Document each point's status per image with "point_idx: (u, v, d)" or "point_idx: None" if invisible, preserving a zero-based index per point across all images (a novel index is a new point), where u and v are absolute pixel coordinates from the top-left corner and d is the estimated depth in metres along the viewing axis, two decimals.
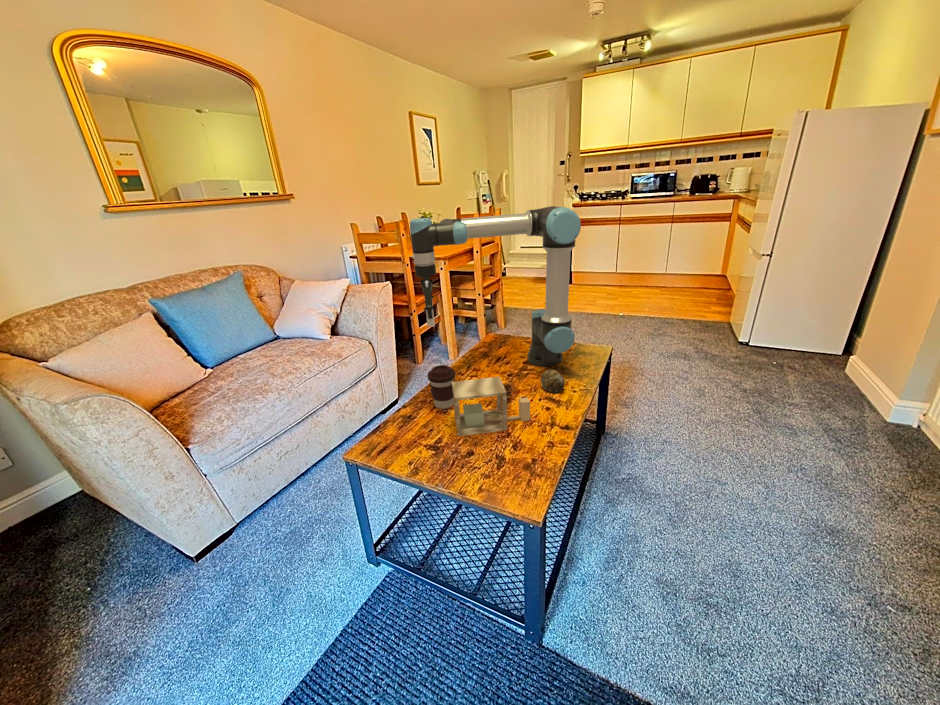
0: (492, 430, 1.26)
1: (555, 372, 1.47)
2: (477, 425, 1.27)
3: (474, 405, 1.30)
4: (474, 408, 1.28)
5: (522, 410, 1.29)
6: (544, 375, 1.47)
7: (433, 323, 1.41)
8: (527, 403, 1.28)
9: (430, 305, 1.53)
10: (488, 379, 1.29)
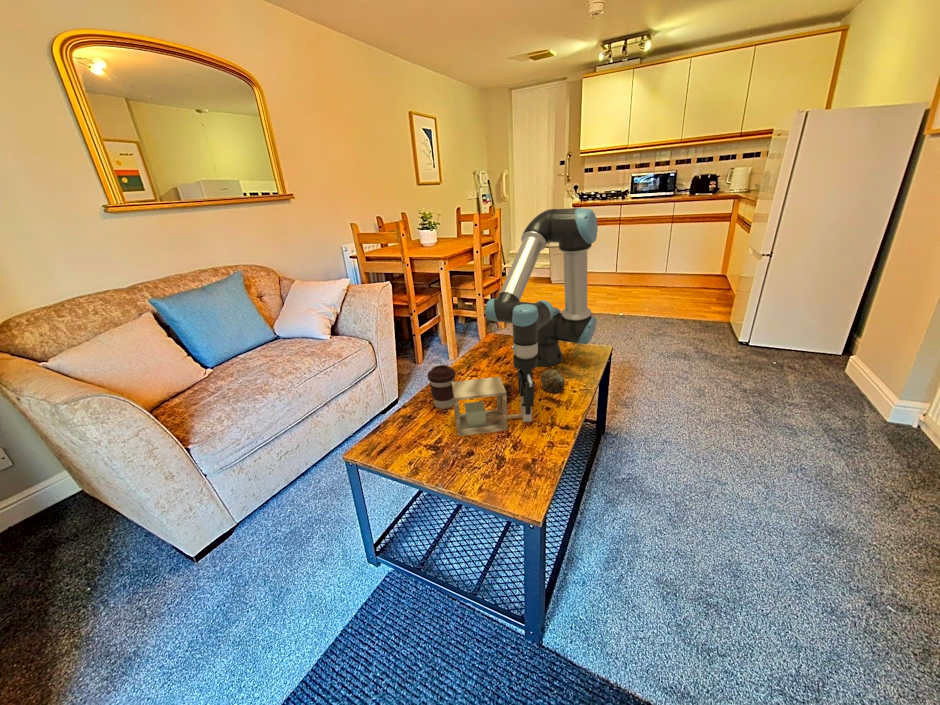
0: (492, 430, 1.26)
1: (555, 372, 1.47)
2: (479, 423, 1.27)
3: (475, 403, 1.30)
4: (475, 406, 1.28)
5: None
6: (544, 375, 1.47)
7: (530, 418, 1.30)
8: None
9: None
10: (488, 379, 1.29)
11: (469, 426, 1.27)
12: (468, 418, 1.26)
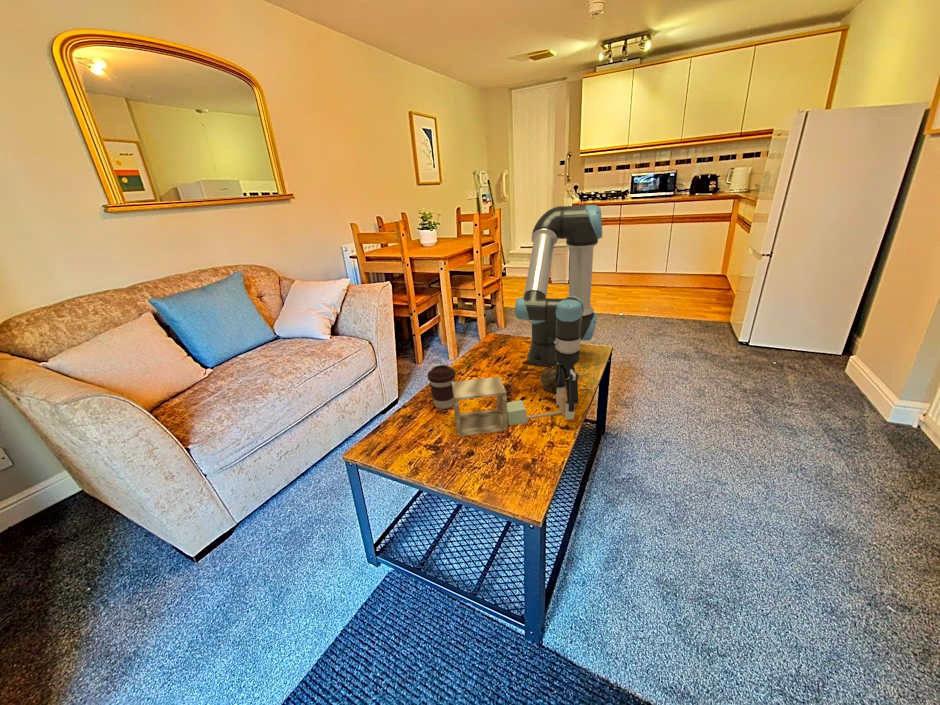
0: (492, 430, 1.26)
1: None
2: (520, 422, 1.29)
3: (515, 402, 1.31)
4: (515, 405, 1.30)
5: (563, 405, 1.30)
6: (544, 375, 1.47)
7: (573, 415, 1.28)
8: None
9: None
10: (488, 379, 1.29)
11: None
12: (509, 417, 1.28)
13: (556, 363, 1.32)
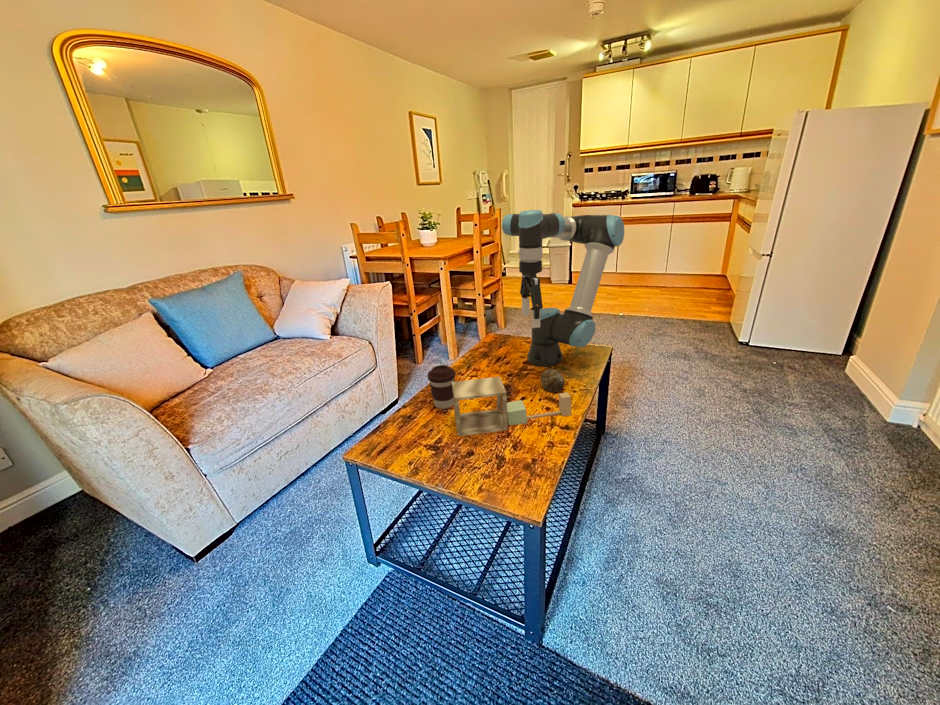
0: (492, 430, 1.26)
1: (555, 371, 1.48)
2: (520, 422, 1.29)
3: (515, 402, 1.31)
4: (515, 405, 1.30)
5: (563, 405, 1.30)
6: (544, 374, 1.48)
7: (538, 324, 1.31)
8: (567, 397, 1.29)
9: (527, 304, 1.42)
10: (488, 379, 1.29)
11: None
12: (509, 417, 1.28)
13: (522, 276, 1.38)
